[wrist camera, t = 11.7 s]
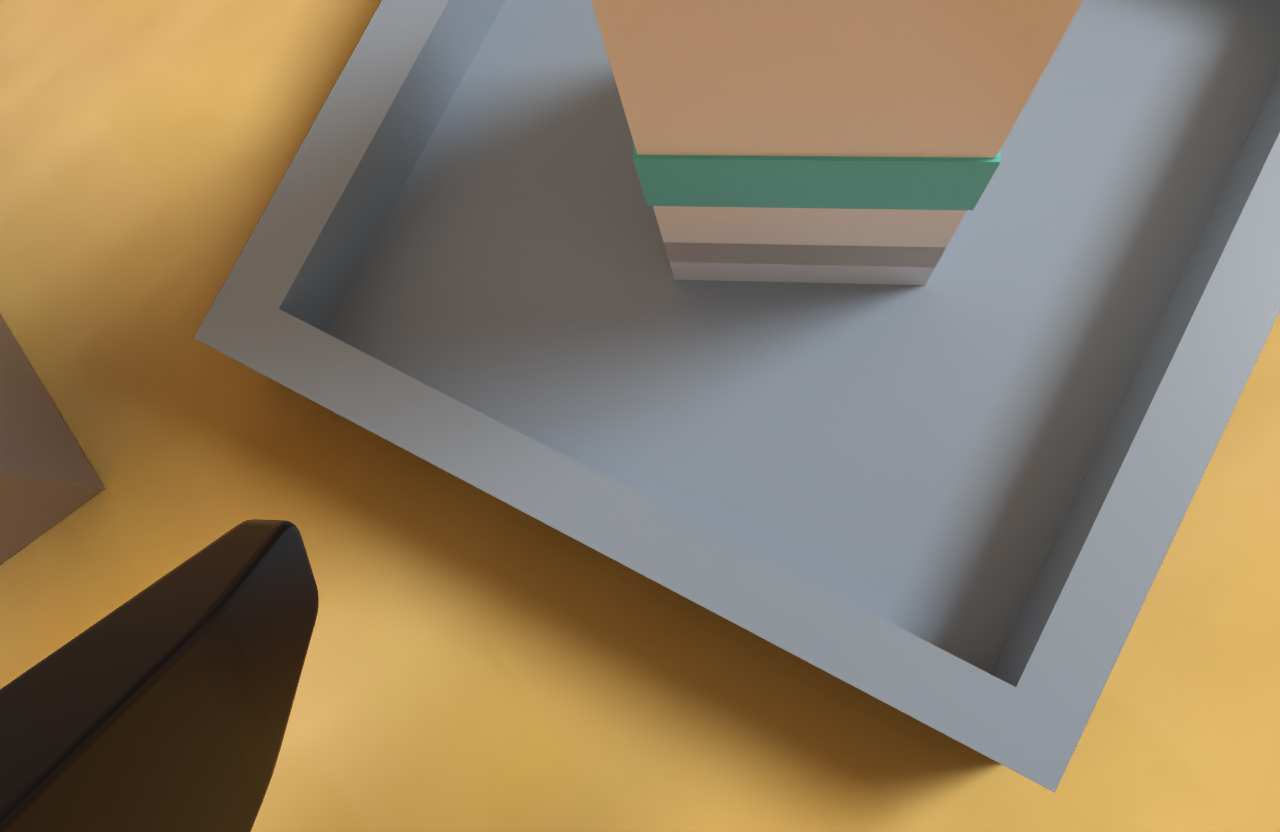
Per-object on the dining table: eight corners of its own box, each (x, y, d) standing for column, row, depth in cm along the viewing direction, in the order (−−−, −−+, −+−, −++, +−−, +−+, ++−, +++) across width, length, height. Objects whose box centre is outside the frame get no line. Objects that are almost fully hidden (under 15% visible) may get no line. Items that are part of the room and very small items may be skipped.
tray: (1011, 760, 17) (1055, 792, 14) (266, 369, 19) (193, 337, 17) (1376, -12, 18) (1474, -105, 15) (630, -292, 20) (611, -413, 18)
